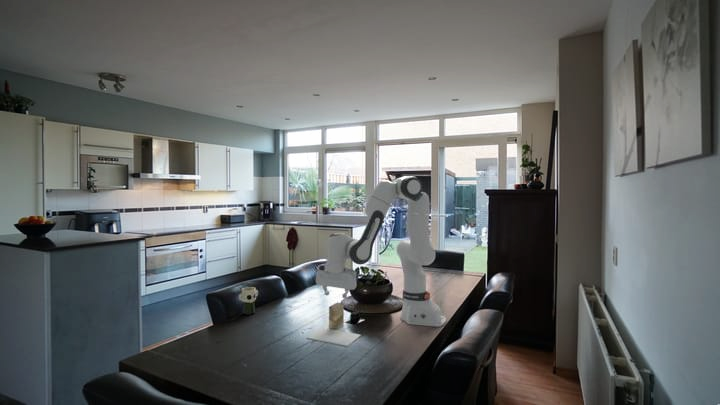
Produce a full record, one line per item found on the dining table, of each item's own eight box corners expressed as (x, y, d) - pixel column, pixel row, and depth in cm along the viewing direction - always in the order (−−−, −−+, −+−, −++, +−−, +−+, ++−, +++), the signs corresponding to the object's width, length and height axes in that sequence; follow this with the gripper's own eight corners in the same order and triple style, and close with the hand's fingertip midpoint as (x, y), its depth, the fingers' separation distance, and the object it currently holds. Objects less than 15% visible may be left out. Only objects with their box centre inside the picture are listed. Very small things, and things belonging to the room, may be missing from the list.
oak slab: (343, 324, 179) (343, 303, 178) (335, 330, 172) (335, 308, 171) (337, 323, 180) (337, 302, 180) (328, 329, 173) (329, 306, 173)
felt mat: (360, 335, 165) (360, 334, 165) (347, 346, 153) (347, 345, 153) (321, 328, 173) (321, 327, 173) (306, 338, 162) (306, 337, 162)
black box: (352, 327, 177) (352, 317, 177) (341, 323, 181) (341, 314, 181) (368, 320, 187) (368, 311, 187) (356, 317, 191) (356, 308, 191)
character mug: (243, 317, 188) (243, 292, 187) (235, 314, 192) (235, 289, 192) (261, 312, 196) (261, 287, 196) (253, 309, 201) (253, 285, 200)
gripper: (359, 268, 174) (358, 297, 174) (321, 263, 182) (320, 292, 182) (353, 270, 168) (352, 301, 168) (314, 266, 176) (313, 295, 177)
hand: (335, 296), depth 175 cm, fingers open, 8 cm apart
